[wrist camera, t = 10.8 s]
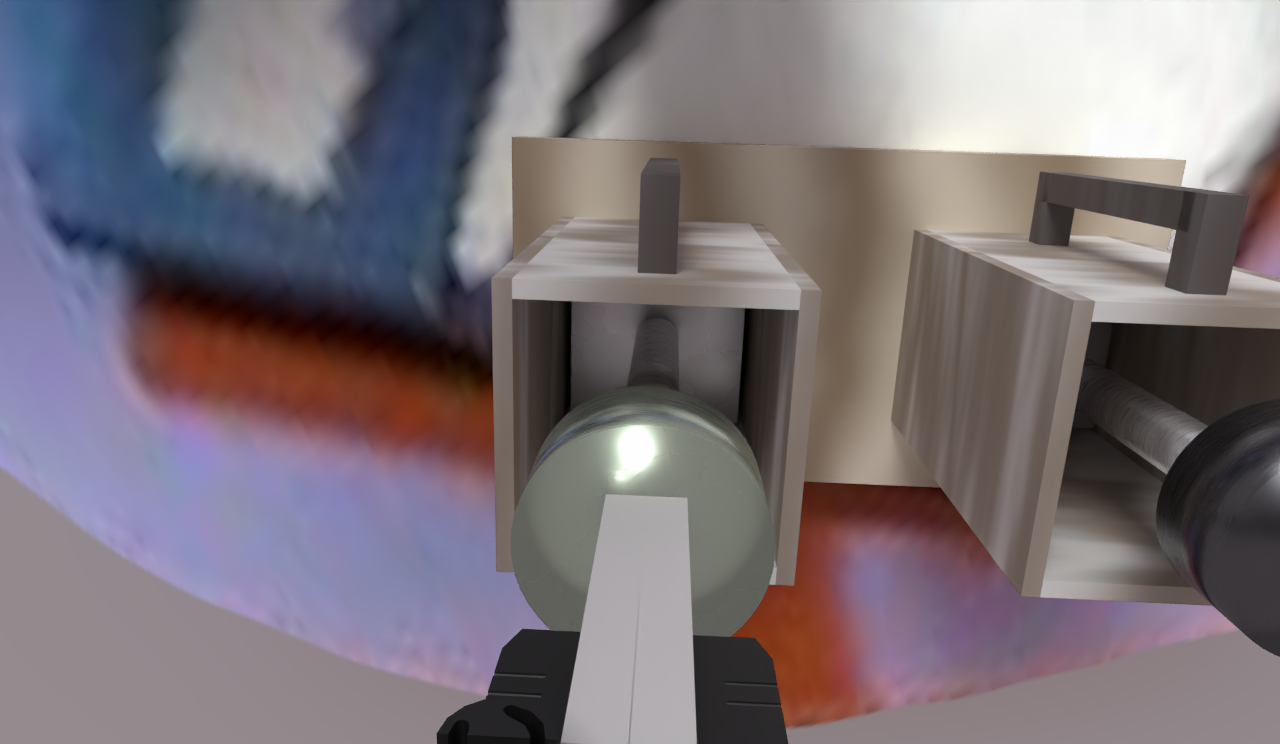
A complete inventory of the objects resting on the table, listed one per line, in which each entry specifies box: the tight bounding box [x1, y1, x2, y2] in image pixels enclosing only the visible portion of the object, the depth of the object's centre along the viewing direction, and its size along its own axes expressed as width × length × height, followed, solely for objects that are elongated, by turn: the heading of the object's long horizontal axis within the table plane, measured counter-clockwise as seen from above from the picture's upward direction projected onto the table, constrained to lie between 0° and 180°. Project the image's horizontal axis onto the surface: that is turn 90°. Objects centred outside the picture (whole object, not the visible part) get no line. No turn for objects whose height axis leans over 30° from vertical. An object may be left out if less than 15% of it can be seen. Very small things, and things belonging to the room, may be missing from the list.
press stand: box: [491, 136, 1280, 606], centre depth 29 cm, size 26×14×16 cm, turn 88°
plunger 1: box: [510, 301, 775, 637], centre depth 24 cm, size 6×6×17 cm
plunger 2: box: [1072, 322, 1280, 656], centre depth 25 cm, size 6×6×17 cm
